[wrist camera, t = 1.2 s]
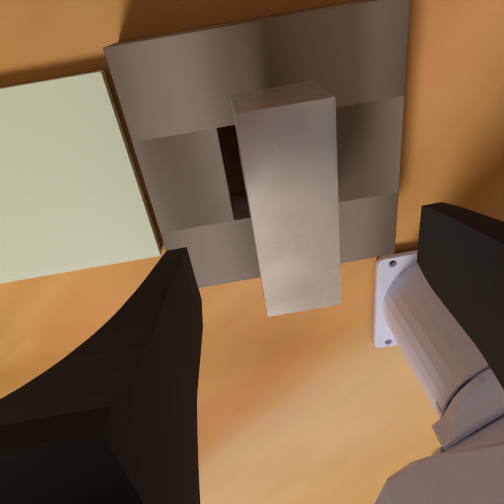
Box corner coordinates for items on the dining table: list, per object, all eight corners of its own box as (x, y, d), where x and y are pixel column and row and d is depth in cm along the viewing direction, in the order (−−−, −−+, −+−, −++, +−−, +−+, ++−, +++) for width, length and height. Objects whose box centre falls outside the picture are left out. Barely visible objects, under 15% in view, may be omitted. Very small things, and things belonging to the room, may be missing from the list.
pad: (103, 69, 18) (100, 71, 18) (161, 250, 24) (160, 255, 23) (-110, 106, 18) (-119, 109, 18) (-3, 278, 24) (-8, 284, 23)
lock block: (381, -4, 18) (410, -5, 15) (375, 227, 24) (394, 254, 22) (118, 41, 18) (102, 47, 15) (182, 261, 24) (178, 291, 22)
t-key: (287, 62, 19) (335, 97, 12) (299, 211, 23) (341, 304, 16) (224, 73, 19) (234, 114, 12) (249, 219, 23) (267, 316, 16)
